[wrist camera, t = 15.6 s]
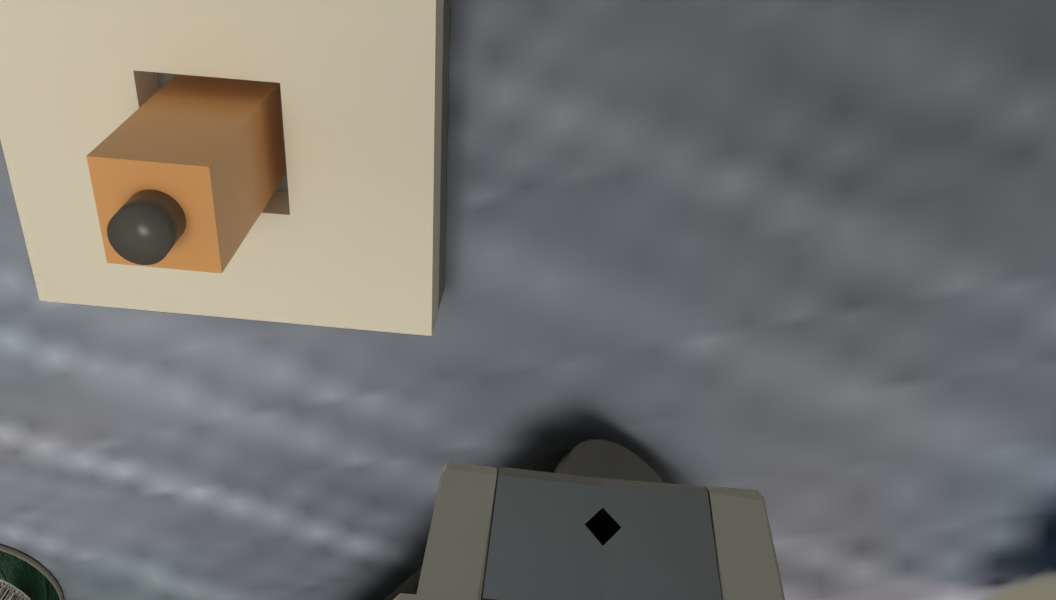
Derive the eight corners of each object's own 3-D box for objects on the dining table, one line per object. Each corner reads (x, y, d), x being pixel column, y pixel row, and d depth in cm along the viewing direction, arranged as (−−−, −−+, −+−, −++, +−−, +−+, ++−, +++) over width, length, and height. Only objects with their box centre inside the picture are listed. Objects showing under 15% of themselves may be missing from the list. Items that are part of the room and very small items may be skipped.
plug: (279, 81, 38) (192, 187, 30) (286, 174, 40) (206, 296, 32) (178, 72, 38) (64, 175, 30) (190, 166, 40) (87, 285, 32)
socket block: (452, -76, 36) (436, -52, 33) (444, 287, 45) (431, 336, 42) (4, -113, 37) (-57, -92, 33) (81, 254, 45) (39, 300, 42)
